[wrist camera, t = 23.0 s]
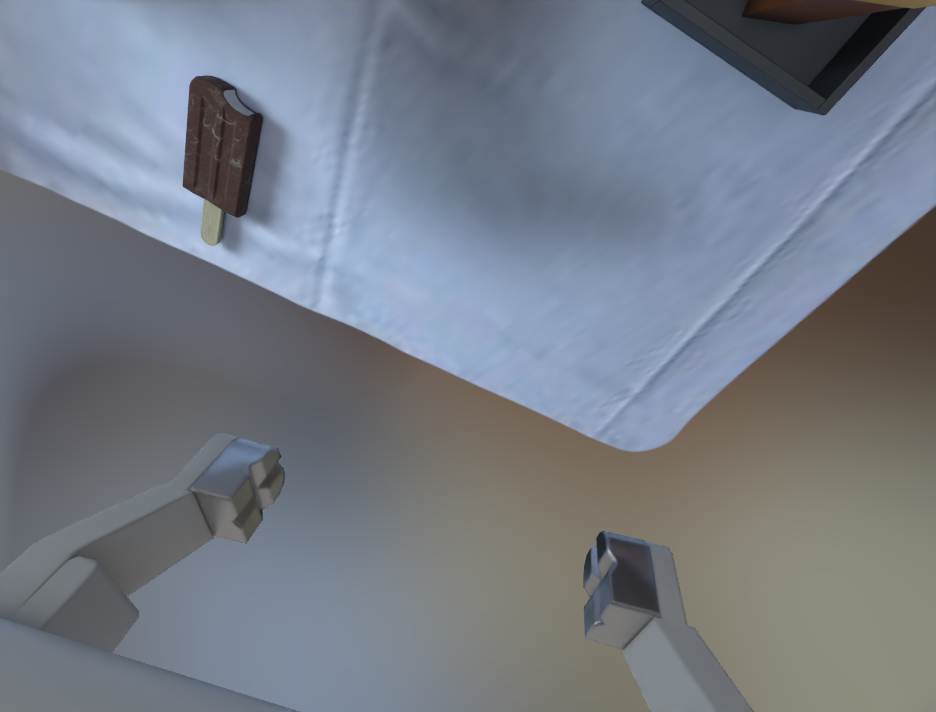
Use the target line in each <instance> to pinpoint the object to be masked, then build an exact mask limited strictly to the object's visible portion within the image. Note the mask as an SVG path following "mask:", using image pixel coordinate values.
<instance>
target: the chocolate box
mask: <svg viewBox="0 0 936 712" xmlns="http://www.w3.org/2000/svg"><path fill="white" fill-rule="evenodd" d="M935 5H936V0H748V2H747V5H746V7H745V9H744V12H743V14H742V17H746V18H753V19H759V20H766V21H773V22H780V23H787V24H794V25H798V24H804V23H810V22H817V21H823V20H830V19H836V18H842V17H849V16H855V15H862V14H868V13H874V12H881V11H887V10H894V9H900V8H912V9H915V8H921V7H928V6H935Z"/></svg>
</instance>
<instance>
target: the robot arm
mask: <svg viewBox="0 0 936 712" xmlns="http://www.w3.org/2000/svg"><path fill="white" fill-rule="evenodd" d="M280 458H281V455H280V452H279V449H278V448H276V447H272V446H268V445H264V444H260V443H257V442H252V441H249V440H245V439H241V438H239V437H235V436H231V435H227V434H223V433H219V434H217V435H215V436H213V437H212V438H211V439H210V440H209V441H208V442H207V443H206V444H205V445H204V446H203V447H202V448H201V449H200V450H199V452H197V454H196V455H195V456H194V457H193V458H192V459H191V460H190V461H189V462H188V463H187V464H186V465H185V466H184V467H183V468H182V469H181V470H180V471H179V472H178V473H177V474H176V476H175V477H174V478H173V479H172V480H171V481H170V482H169V483H168V484H167V485H166V484H159V485H157V486H154V487H152V488H150V489H148V490H146V491H144V492H141V493H139V494H137V495H135V496H133V497H130V498H128V499H126V500H124V501H122V502H120V503H117V504H115V505H114V506H111V507H109V508H107V509H105V510H102V511H100V512H98V513H96V514H94V515H92V516H89V517H87V518H85V519H83V520H81V521H78V522H76V523H74V524H72V525H70V526H68V527H66V528H63V529H61V530H59V531H57V532H55V533H53V534H50V535H48V536H46V537H44V538H42V539H40V540H37V541H36V542H35V543H34V544H33V545H32V546H30V547H29V548H28V549H27V550H26V551H25V552H24V553H23V554H21V555H20V556H19V557H18V558H17V559H16V560H15V561H14V562H13V563H11V564H10V565H9V566H8V567H7V568H6V569H5V570H4V571H3V572H1V573H0V712H299V711H296V710H292V709H289V708H286V707H283V706H280V705H277V704H273V703H270V702H267V701H264V700H260V699H257V698H253V697H251V696H248V695H245V694H241V693H238V692H235V691H232V690H229V689H226V688H222V687H219V686H216V685H213V684H209V683H206V682H203V681H200V680H197V679H193V678H190V677H187V676H184V675H181V674H178V673H175V672H171V671H168V670H165V669H162V668H159V667H155V666H152V665H149V664H146V663H143V662H140V661H136V660H133V659H130V658H127V657H124V656H120V655H117V654H114V653H112V652H113V651H114V650H115V648H116V647H117V645H118V644H119V643H120V642H121V640H122V639H123V638H124V636H125V635H126V634H127V632H128V631H129V630H130V628H131V627H132V626H133V624H134V623H135V622H136V620H137V619H138V618H139V611H138V610H137V608H136V607H135V606H134V605H133V603H131V601H130V600H129V599H128V598H127V596H129V595H130V594H132V593H133V592H135V591H136V590H137V589H139V588H141V587H142V586H143V585H145V584H146V583H148V582H149V581H151V580H152V579H154V578H155V577H157V576H158V575H160V574H161V573H163V572H164V571H166V570H167V569H168V568H170V567H171V566H173V565H174V564H176V563H177V562H179V561H180V560H182V559H183V558H185V557H186V556H188V555H189V554H191V553H192V552H193V551H195V550H197V549H198V548H199V547H201V546H202V545H204V544H205V543H207V542H208V541H210V540H211V539H213V536H217V537H221V538H225V539H229V540H233V541H237V542H241V543H245V544H246V543H247V541H248V540H249V539H250V537H251V536H252V534H253V533H254V531H255V530H256V528H257V527H258V526H259V524H260V523H261V521H262V520H263V516H262V510H263V509H265V508H267V507H269V506H270V505H272V504H273V503H274V502H275V500H276V499H277V497H278V496H279V494H280V492H281V489H282V487H283V484H284V478H285V472H284V468H283V467H282V466H281V465H280V464H279V463H278V460H279V459H280ZM584 589H585V590H586V592H587V594H588V595H589V597H590V599H589V600H588V602H587V604H586V605H585V606H584V623H585V639H589V640H592V641H595V642H599V643H602V644H605V645H608V646H611V647H615V648H618V649H621V650H623V651H622V654H623V655H624V658H625V660H626V662H627V664H628V666H629V668H630V670H631V672H632V674H633V676H634V678H635V680H636V683H637V685H638V687H639V689H640V691H641V693H642V695H643V697H644V699H645V701H646V703H647V705H648V707H649V710H650V712H754V711H753V710H752V708H751V707H750V706H749V704H748V703H747V702H746V700H745V699H744V697H743V696H742V694H741V693H740V691H739V690H738V689H737V687H736V686H735V684H734V683H733V682H732V680H731V679H730V678H729V676H728V674H727V673H726V672H725V670H724V669H723V667H722V666H721V665H720V663H719V662H718V660H717V659H716V657H715V656H714V655H713V653H712V652H711V650H710V649H709V648H708V646H707V645H706V643H705V642H704V640H703V639H702V638H701V636H700V635H699V634H698V632H697V631H696V629H695V628H693V627H690V626H688V625H687V621H686V616H685V611H684V606H683V601H682V597H681V592H680V587H679V582H678V578H677V573H676V568H675V563H674V559H673V554H672V552H671V550H670V549H669V548H668V547H666V546H662V545H658V544H654V543H650V542H646V541H644V540H640V539H636V538H632V537H628V536H623V535H619V534H615V533H610V532H606V531H602V532H600V533H599V535H598V536H597V546H595V547H592V548H590V550H589V552H588V554H587V557H586V561H585V566H584Z"/></svg>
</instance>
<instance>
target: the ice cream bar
mask: <svg viewBox="0 0 936 712" xmlns="http://www.w3.org/2000/svg"><path fill="white" fill-rule="evenodd" d="M261 123H262V117H261V115H260V114H259V113H255V112H254V111H252V110H250V109H249V108H247V107H246V106H245V105H243V104H242V103H241V101H240V100H239V99H238V97H237V95H236V89H235V88H234V87H232V86H231V85H229V84H227V83H226V82H224V81H222V80H220V79H219V78H215V77H212V76H197V77H195V78H194V79H193V80H192V81H191V83H190V89H189V103H188V118H187V132H186V146H185V161H184V175H183V187H184V188H186V189H188V190H189V191H191V192H192V193H194V194H196V195H198V196H200V197H202V198H204V207H203V216H202V226H201V237H202V239H203V240H204V241H205V242H206V243H207V244H208V245H212V246H214V245H216V244H218V243H219V242H220V237H221V230H222V223H223V216H224V211H225V212H226V213H228V214H230V215H233V216H235V217H237V218H238V217H240V216H242V215H245V213H246V207H247V202H248V196H249V190H250V185H251V179H252V173H253V168H254V162H255V156H256V151H257V145H258V140H259V134H260V128H261Z"/></svg>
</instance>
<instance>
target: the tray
mask: <svg viewBox="0 0 936 712" xmlns="http://www.w3.org/2000/svg"><path fill="white" fill-rule="evenodd" d="M747 2H748V0H642V1H641V3H642V4H643V5H645V6H646V7H648V8H649V9H651V10H652V11H653V12H655V13H656V14H658V15H659V16H661V17H662V18H664V19H665V20H666V21H668V22H669V23H671V24H672V25H674V26H675V27H677V28H678V29H680V30H681V31H682V32H684V33H685V34H687V35H688V36H690V37H691V38H693V39H694V40H695V41H697V42H698V43H700V44H701V45H703V46H704V47H706V48H707V49H709V50H710V51H711V52H713V53H714V54H716V55H717V56H719V57H720V58H722V59H723V60H724V61H726V62H727V63H729V64H730V65H732V66H733V67H735V68H736V69H738V70H739V71H740V72H742V73H743V74H745V75H746V76H748V77H749V78H751V79H752V80H753V81H755V82H756V83H758V84H759V85H761V86H762V87H764V88H765V89H767V90H768V91H769V92H771V93H772V94H774V95H775V96H777V97H778V98H780V99H781V100H782V101H784V102H785V103H787V104H788V105H790V106H791V107H793V108H794V109H798V110H803V111H807V112H812V113H817V114H821V115H826V114H827V113H828V112H829V111H830V109H831V108H832V107H833V106H834V105H835V104H836V103H837V102H838V101H839V100H840V99H841V98H842V97H843V96H844V94H845V93H846V92H847V91H848V90H849V89H850V88H851V87H852V86H853V85H854V84H855V83H856V82H857V81H858V80H859V78H860V77H861V76H862V75H863V74H864V73H865V72H866V71H867V70H868V69H869V68H870V67H871V66H872V65H873V63H874V62H875V61H876V60H877V59H878V58H879V57H880V56H881V55H882V54H883V53H884V52H885V51H886V50H887V49H888V47H889V46H890V45H891V44H892V43H893V42H894V41H895V40H896V39H897V38H898V37H899V36H900V35H901V34H902V32H903V31H904V30H905V29H906V28H907V27H908V26H909V25H910V24H911V23H912V22H913V21H914V20H915V19H916V18H917V16H918V15H919V14H920V13H921V12H922V11H923V10H924V9H925V8H926V7H921V8H915V9H912V8H900V9H894V10H887V11H881V12H874V13H868V14H862V15H855V16H849V17H842V18H836V19H830V20H823V21H817V22H810V23H804V24H798V25H794V24H787V23H780V22H773V21H766V20H759V19H753V18H746V17H742V14H743V12H744V9H745V7H746V5H747Z"/></svg>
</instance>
